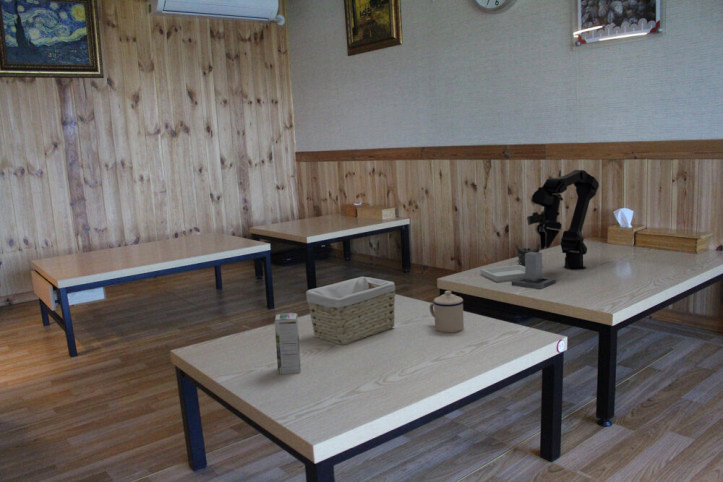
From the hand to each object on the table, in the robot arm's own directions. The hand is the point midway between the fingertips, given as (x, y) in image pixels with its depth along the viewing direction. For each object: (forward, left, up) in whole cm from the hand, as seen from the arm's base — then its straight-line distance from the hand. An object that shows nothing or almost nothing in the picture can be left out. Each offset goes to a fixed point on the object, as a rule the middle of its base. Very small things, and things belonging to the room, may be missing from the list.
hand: (544, 248), depth 238 cm
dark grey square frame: (+9, +7, -12) cm, 16 cm away
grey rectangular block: (+9, +7, -12) cm, 16 cm away
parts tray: (+11, -9, -12) cm, 19 cm away
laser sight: (-6, -24, -12) cm, 28 cm away
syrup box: (+110, +59, -12) cm, 125 cm away
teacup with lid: (+60, +43, -12) cm, 75 cm away
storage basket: (+87, +35, -12) cm, 95 cm away
